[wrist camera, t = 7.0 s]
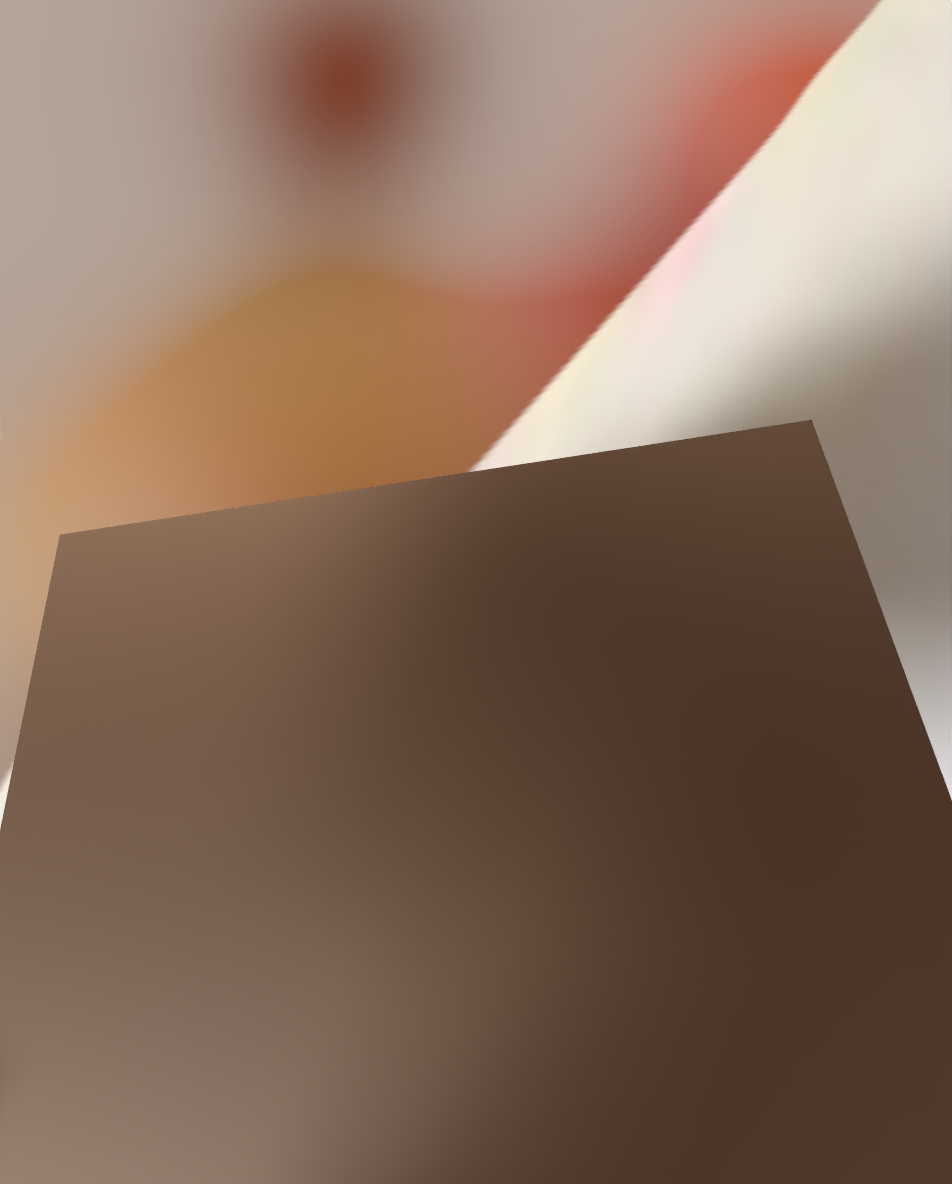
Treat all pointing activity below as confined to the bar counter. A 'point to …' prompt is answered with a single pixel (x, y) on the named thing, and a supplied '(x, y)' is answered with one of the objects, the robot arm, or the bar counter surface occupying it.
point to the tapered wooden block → (480, 841)
